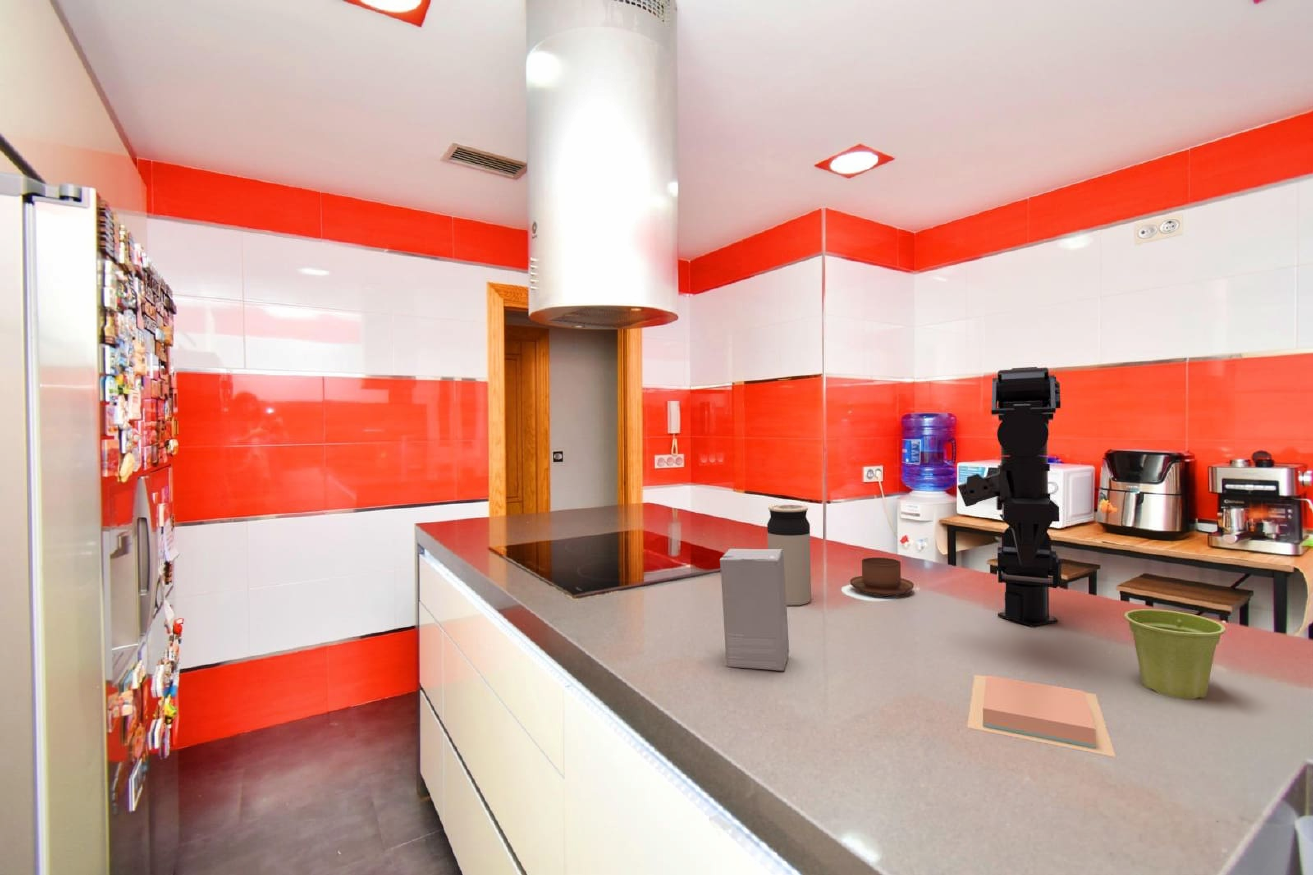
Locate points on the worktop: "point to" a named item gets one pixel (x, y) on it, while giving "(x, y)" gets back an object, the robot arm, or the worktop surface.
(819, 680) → the worktop surface
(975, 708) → the cork mat
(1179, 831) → the worktop surface
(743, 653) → the skincare box
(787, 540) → the travel mug
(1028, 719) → the tile
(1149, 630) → the plant pot
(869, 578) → the cup and saucer
